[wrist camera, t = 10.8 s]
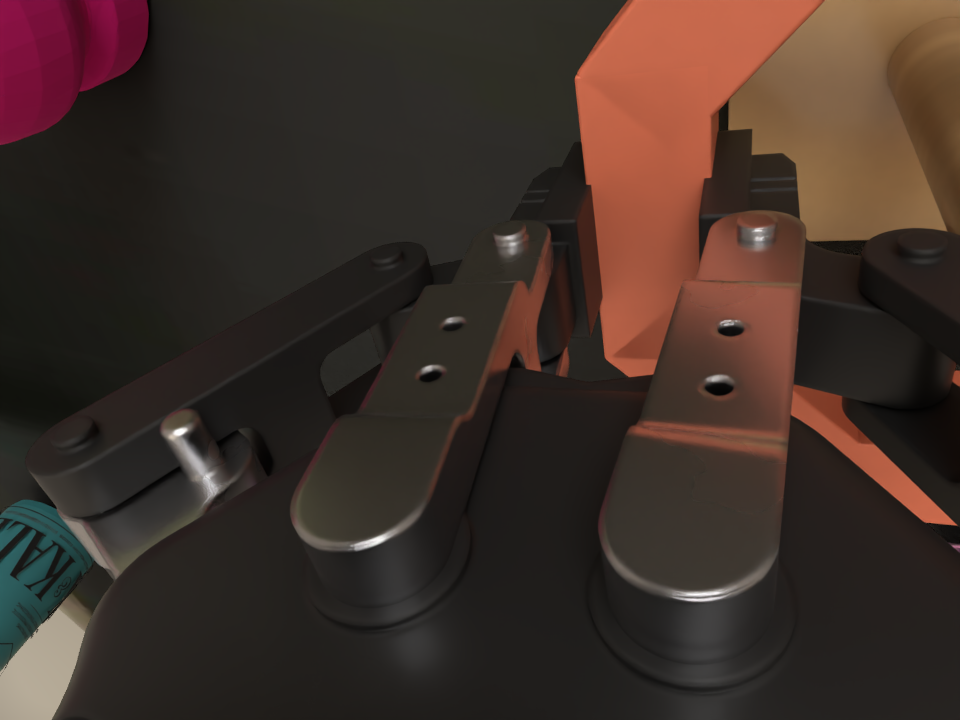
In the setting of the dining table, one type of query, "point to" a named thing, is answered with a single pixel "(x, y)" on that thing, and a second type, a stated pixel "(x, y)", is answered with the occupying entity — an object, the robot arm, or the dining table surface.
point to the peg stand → (864, 116)
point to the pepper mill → (61, 56)
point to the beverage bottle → (34, 570)
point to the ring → (684, 180)
